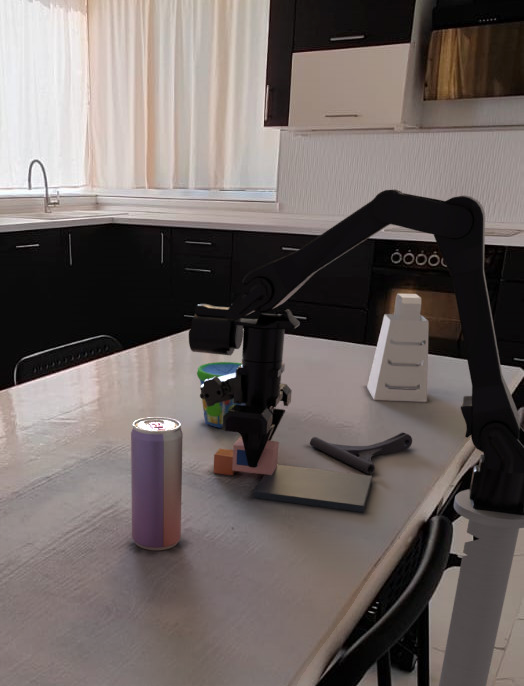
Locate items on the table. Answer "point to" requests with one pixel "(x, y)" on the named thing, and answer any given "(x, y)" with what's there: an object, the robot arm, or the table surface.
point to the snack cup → (218, 410)
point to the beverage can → (156, 482)
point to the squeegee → (363, 450)
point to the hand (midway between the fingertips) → (255, 462)
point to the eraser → (266, 460)
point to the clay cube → (223, 462)
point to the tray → (315, 488)
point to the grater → (401, 353)
